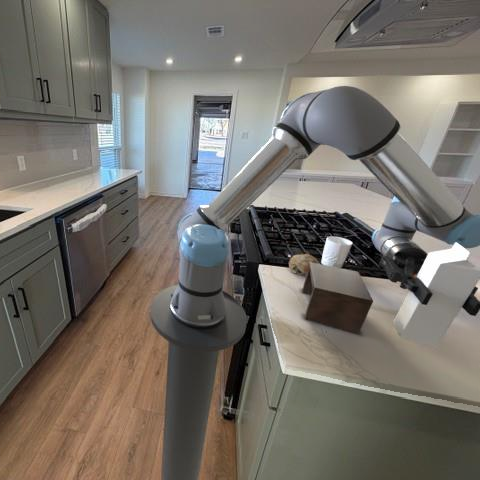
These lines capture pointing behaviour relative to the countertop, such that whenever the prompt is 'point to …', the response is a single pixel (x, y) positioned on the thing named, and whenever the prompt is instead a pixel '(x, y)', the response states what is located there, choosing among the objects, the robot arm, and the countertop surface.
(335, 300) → the dark wooden crate
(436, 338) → the milk
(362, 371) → the countertop surface
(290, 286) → the countertop surface
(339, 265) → the white cup
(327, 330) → the countertop surface
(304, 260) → the tan rounded lump
